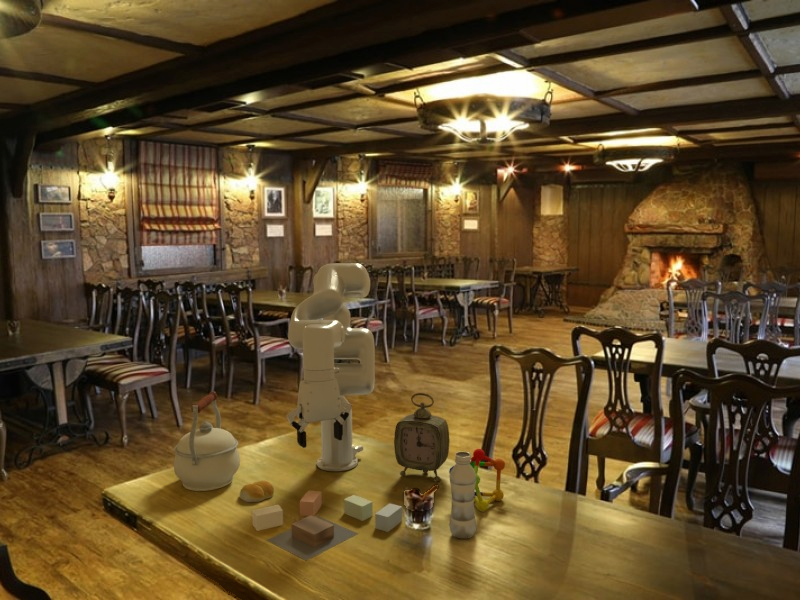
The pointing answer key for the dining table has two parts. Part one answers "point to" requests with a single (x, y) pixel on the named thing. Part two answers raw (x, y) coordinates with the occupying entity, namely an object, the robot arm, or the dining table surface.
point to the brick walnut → (312, 530)
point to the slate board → (305, 549)
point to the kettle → (206, 452)
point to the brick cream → (267, 517)
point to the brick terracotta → (310, 503)
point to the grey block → (388, 517)
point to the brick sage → (358, 507)
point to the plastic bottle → (462, 497)
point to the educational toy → (475, 463)
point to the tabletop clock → (421, 440)
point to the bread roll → (257, 491)
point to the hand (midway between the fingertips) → (320, 442)
